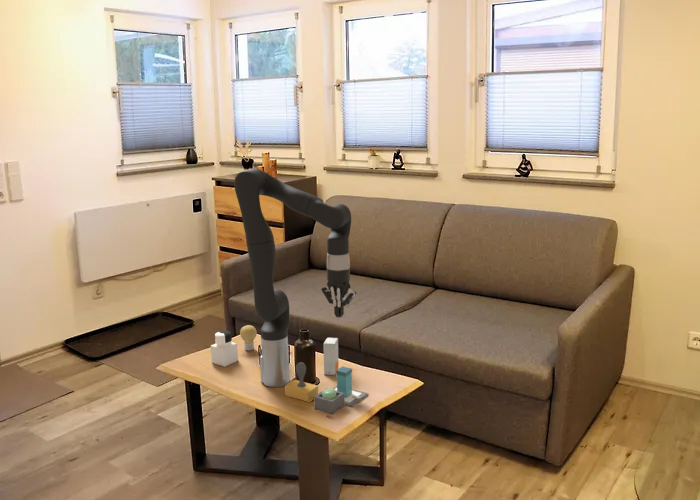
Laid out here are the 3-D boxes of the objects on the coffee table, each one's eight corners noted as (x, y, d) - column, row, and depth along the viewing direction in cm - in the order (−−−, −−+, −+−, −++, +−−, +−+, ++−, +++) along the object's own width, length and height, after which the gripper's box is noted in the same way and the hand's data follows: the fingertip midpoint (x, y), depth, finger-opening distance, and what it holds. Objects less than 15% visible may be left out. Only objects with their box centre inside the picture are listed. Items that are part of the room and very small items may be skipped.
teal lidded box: (336, 395, 219) (336, 370, 217) (342, 391, 222) (342, 366, 220) (346, 398, 217) (345, 372, 215) (352, 393, 220) (352, 368, 218)
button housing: (314, 409, 211) (314, 396, 210) (326, 400, 217) (326, 388, 216) (332, 414, 208) (332, 401, 206) (344, 405, 213) (344, 392, 212)
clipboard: (321, 398, 219) (321, 395, 218) (337, 386, 227) (337, 384, 227) (351, 406, 212) (351, 404, 212) (367, 394, 221) (367, 391, 220)
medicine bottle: (225, 356, 254) (223, 327, 252) (238, 360, 250) (236, 331, 247) (211, 363, 249) (209, 333, 246) (224, 367, 245) (222, 337, 242)
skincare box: (335, 375, 236) (334, 344, 233) (323, 374, 237) (322, 343, 234) (339, 368, 242) (338, 337, 239) (327, 367, 243) (326, 337, 240)
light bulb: (260, 349, 261) (259, 325, 259) (248, 353, 257) (246, 329, 254) (250, 345, 265) (249, 321, 263) (238, 349, 261) (236, 326, 259)
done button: (319, 404, 211) (319, 392, 210) (327, 398, 215) (327, 387, 214) (331, 407, 209) (331, 396, 208) (339, 401, 213) (339, 390, 212)
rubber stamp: (318, 395, 221) (317, 362, 218) (308, 402, 216) (307, 368, 213) (295, 389, 226) (293, 356, 223) (284, 395, 221) (283, 362, 218)
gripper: (314, 266, 214) (316, 316, 218) (348, 271, 206) (349, 323, 211) (328, 260, 220) (329, 310, 224) (361, 266, 212) (362, 317, 217)
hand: (339, 316), depth 217 cm, fingers closed
